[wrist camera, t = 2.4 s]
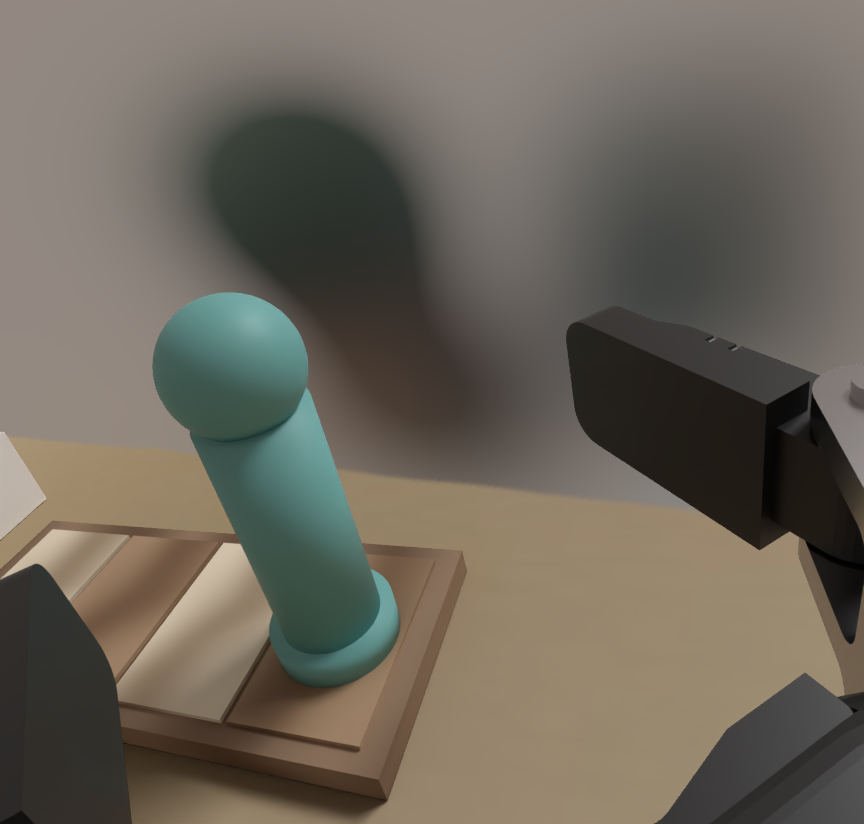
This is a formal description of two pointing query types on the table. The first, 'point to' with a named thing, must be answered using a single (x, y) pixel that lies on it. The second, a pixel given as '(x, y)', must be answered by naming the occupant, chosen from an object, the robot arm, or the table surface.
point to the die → (15, 488)
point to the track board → (243, 652)
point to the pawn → (277, 483)
